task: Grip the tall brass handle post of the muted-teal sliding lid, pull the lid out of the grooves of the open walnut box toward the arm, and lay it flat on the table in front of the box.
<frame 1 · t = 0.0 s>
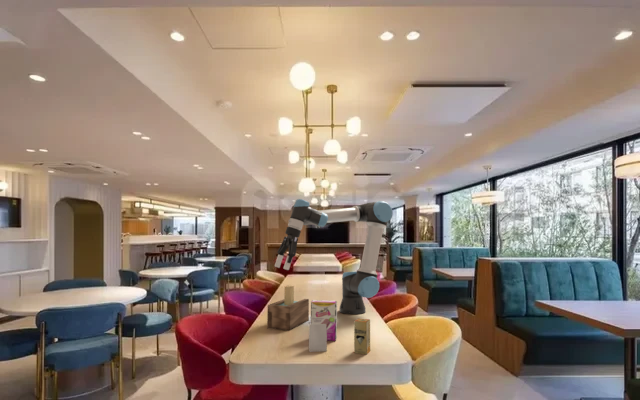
hand: (281, 268, 199), 28 cm above the table, tool tilted 20°, fingers open, 13 cm apart
cover plate: (289, 308, 199), point 8 cm above the table, touching walnut box
shoe polish box: (362, 352, 153), on the table
candy bar box: (323, 340, 170), on the table
walnut box: (288, 324, 198), on the table
white rectangular block: (317, 350, 155), on the table
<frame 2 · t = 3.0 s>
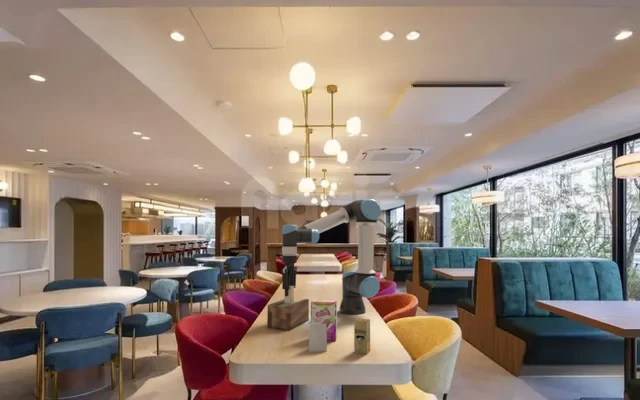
hand: (289, 301, 199), 11 cm above the table, tool pointing down, fingers closed on cover plate, 3 cm apart
cover plate: (289, 308, 199), point 8 cm above the table, touching gripper, walnut box
everything else where it was.
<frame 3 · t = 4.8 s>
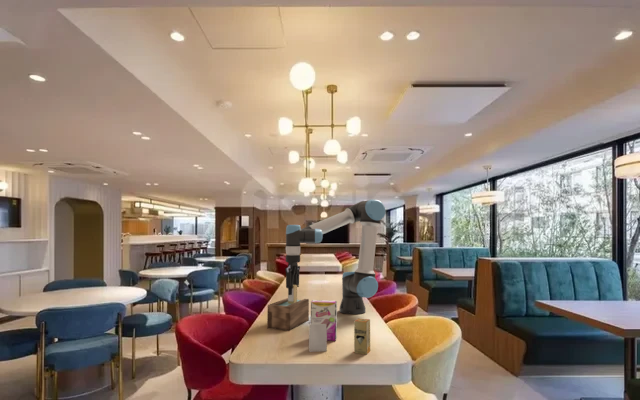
hand: (292, 300, 203), 11 cm above the table, tool pointing down, fingers closed on cover plate, 3 cm apart
cover plate: (292, 306, 202), point 8 cm above the table, touching gripper
everything else where it was.
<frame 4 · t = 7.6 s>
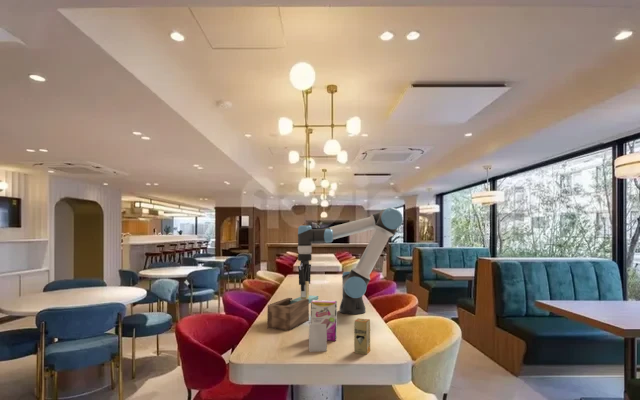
hand: (304, 296, 217), 11 cm above the table, tool pointing down, fingers closed on cover plate, 3 cm apart
cover plate: (304, 301, 217), point 8 cm above the table, touching gripper
everything else where it was.
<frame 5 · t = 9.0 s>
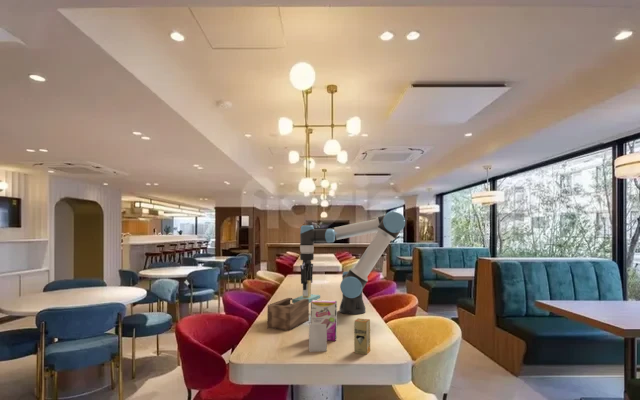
hand: (306, 295, 220), 11 cm above the table, tool pointing down, fingers closed on cover plate, 3 cm apart
cover plate: (306, 300, 220), point 8 cm above the table, touching gripper
everything else where it was.
when the fingers open (5 cm above the table, at t = 10.6 s): cover plate drops 2 cm, on the table.
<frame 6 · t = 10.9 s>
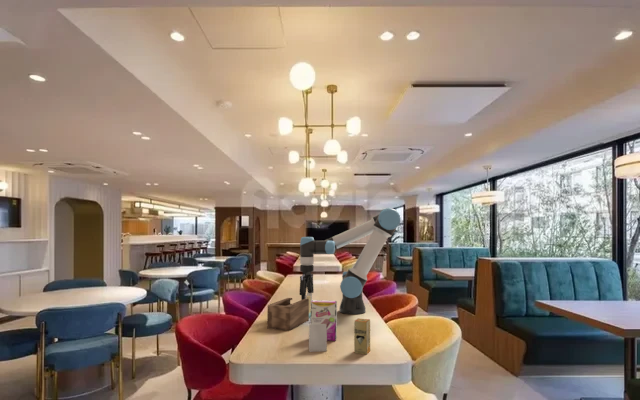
hand: (306, 305, 220), 5 cm above the table, tool pointing down, fingers open, 7 cm apart
cover plate: (306, 316, 220), on the table
everything else where it was.
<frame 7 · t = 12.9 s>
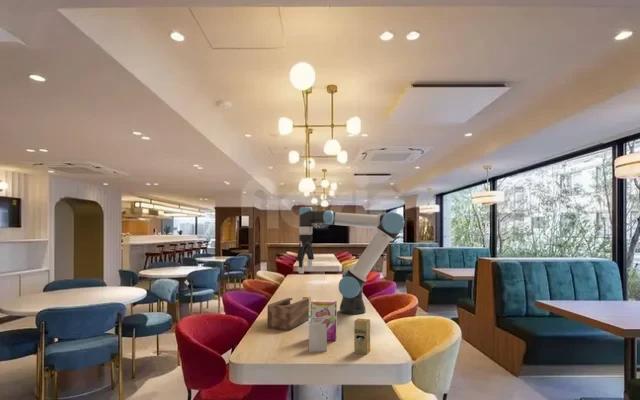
hand: (305, 272, 223), 24 cm above the table, tool pointing down, fingers open, 13 cm apart
nothing on the table moved.
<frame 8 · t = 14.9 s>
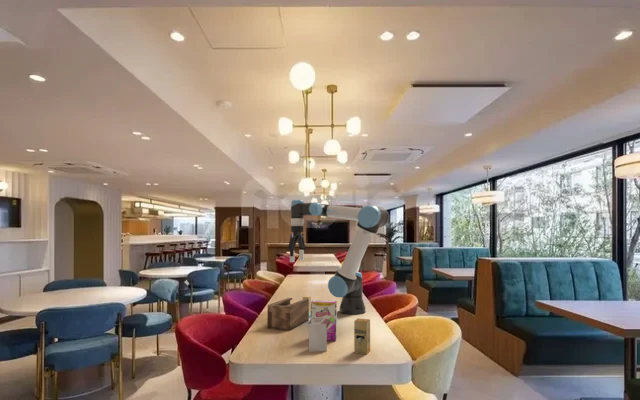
hand: (296, 261, 236), 29 cm above the table, tool pointing down, fingers open, 13 cm apart
nothing on the table moved.
at the end: cover plate inside the target area (0.6 cm from its centre), on the table; cover plate tilted 0°; the gripper is holding nothing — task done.
